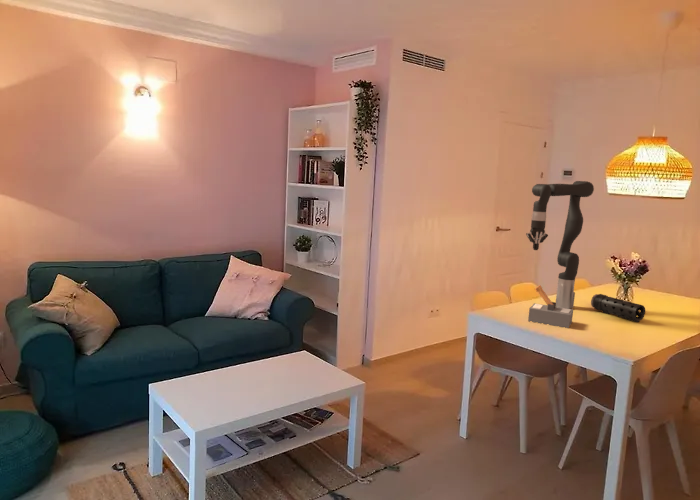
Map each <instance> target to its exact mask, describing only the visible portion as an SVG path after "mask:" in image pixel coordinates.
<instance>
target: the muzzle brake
mask: <svg viewBox="0 0 700 500" xmlns="http://www.w3.org/2000/svg"><path fill="white" fill-rule="evenodd" d="M590 304H591V307H592V308H594V309H595V310H597V311H601V312H602V313H604V314H607V315H610V314H612V315H615V316H617V317H619V318H622V319H625V320H628V321H631V322H636V323H639V322H640V321H642V320H643V319H644V318H645V315H646V307H645V305H643V304H639V303H635V302H631V301H627V300H623V299H619V298H616V297H612V296H608V295H607V294H602V293H598V294H594V295H593V296H592V297H591V300H590Z"/></svg>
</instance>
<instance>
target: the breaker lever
mask: <svg viewBox="0 0 700 500" xmlns="http://www.w3.org/2000/svg"><path fill="white" fill-rule="evenodd" d="M534 290H535V291H536V292H537V293H538V295H539V296H540V297H541V298H542V300H543V301H544V303H545V305H548V304H551V305H554V304H553V303H552V302H553V301H551V299H550V298H549V296H548V295H547V294H546V292H545V291H544V290H543V287H542V286H541V284H539V285H538V286H536V287H535V288H534Z"/></svg>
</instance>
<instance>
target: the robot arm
mask: <svg viewBox="0 0 700 500" xmlns="http://www.w3.org/2000/svg"><path fill="white" fill-rule="evenodd" d="M594 191H595V187H594V185H593V183H592V182H590V181H586V180H584V181H583V180H575V181H574V182H573V183H536V184H535V185H533V186H532V188H531V193H532V194H533V196H535V197H539V199H538V200H535V201H533V208H532V215H531V223H530V230H529V232H526V234H525V235H526V237H527V239H528V240H529V242H530V243H532V249H533V250H534V251H538V250H539V248H540V244H541V243H543V242H544V241H545V240H546V239H547V238H548V237H549V235H548V234H547V233H546V230H545V228H546V222H547V208H548V203H549V200H550V198H551V197H563V196H565V197H566V196H569V201H568V202H569V205H568V210H567V216H566V221H565V224H564V232H563V237H562V241H561V244H560V248H559V251H558V254H557V260H556V261H557V264H558V265H559V266H560V267H563V268H565V270H564V271H563V272H559V273H558V275H557V276H558V277H557V286H556V287H557V288H556V295H555V296H556V297H555V302H556V307H561V308H567V309H573V308H574V305H575V297H576V296H575V295H576V292H574V291H575V283H576V276H577V274H578V271H579V265H580V258H579V257H580V256H579V255H578V253H576V252H571V248H572V245H573V243H574V242H575V240H576V239H577V238H578V237H579V236H580V234H581V233H582V230H583V224H584V216H583V214H582V210H581V206H580V203H581V198H588V197H590V196H592V195H593V193H594Z"/></svg>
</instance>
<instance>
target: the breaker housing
mask: <svg viewBox="0 0 700 500" xmlns="http://www.w3.org/2000/svg"><path fill="white" fill-rule="evenodd" d="M551 302H552V303H553V304H554V305H551V304H548V305H547V304H540V303H533V304H532V305H530V307H529V309H528V310H529V311H528V320H527V321H528V322H530V321H532V322H531V323H535V322H538V323H537V324H541V323H544V324H543V325H547V324H549V325H548V326H552V327H558V326H559V327H560V328H564V327H565V329H570V327H571V324H572V322H573V316H574V309H573V308H570V309H567V308H561V307H556V301H555V302H554V301H551ZM569 326H570V327H569ZM559 327H558V328H559Z"/></svg>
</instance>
